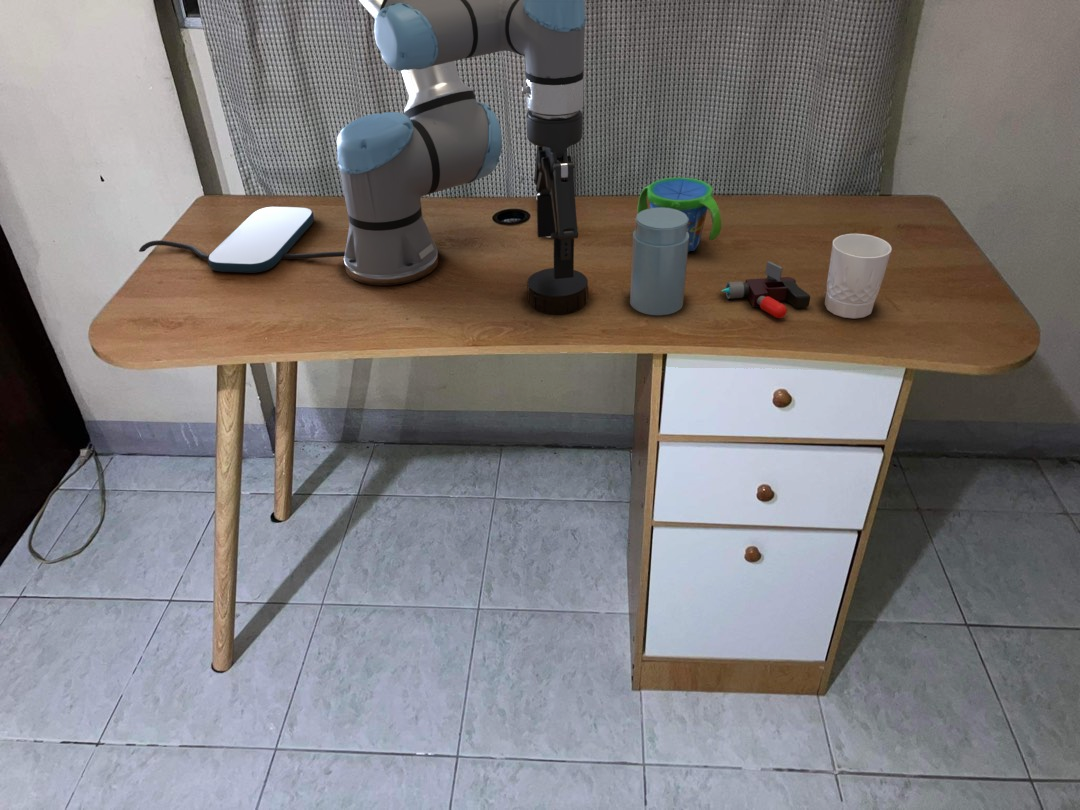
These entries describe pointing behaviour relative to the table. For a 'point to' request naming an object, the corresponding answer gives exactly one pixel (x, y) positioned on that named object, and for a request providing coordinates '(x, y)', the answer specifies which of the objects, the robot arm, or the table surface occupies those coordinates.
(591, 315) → the table surface
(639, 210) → the snack cup
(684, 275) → the jar
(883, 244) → the white cup
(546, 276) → the lid
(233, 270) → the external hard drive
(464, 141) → the robot arm
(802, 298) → the toy gun
